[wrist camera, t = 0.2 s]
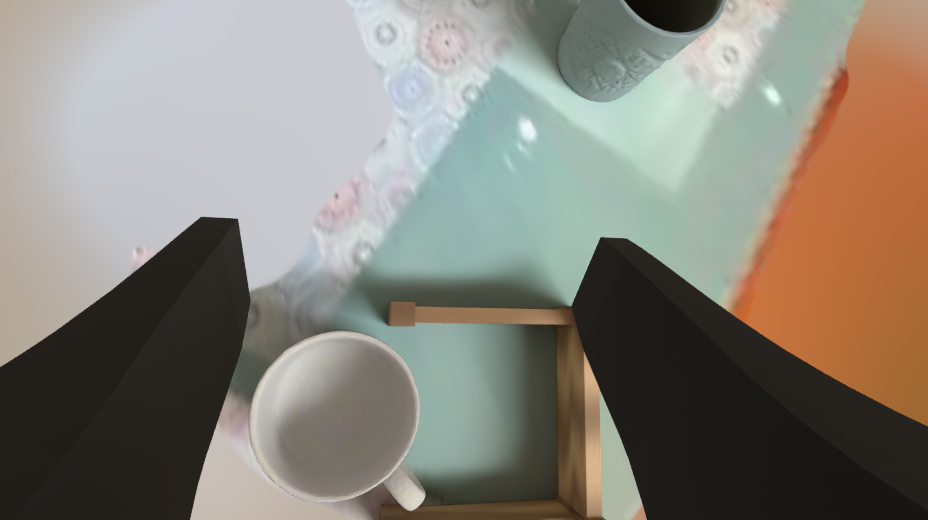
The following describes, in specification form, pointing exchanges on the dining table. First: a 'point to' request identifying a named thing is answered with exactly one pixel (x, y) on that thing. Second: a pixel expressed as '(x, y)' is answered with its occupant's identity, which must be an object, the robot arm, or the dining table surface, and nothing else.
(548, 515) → the wooden frame
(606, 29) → the grey tumbler
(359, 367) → the teacup
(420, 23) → the dining table surface
